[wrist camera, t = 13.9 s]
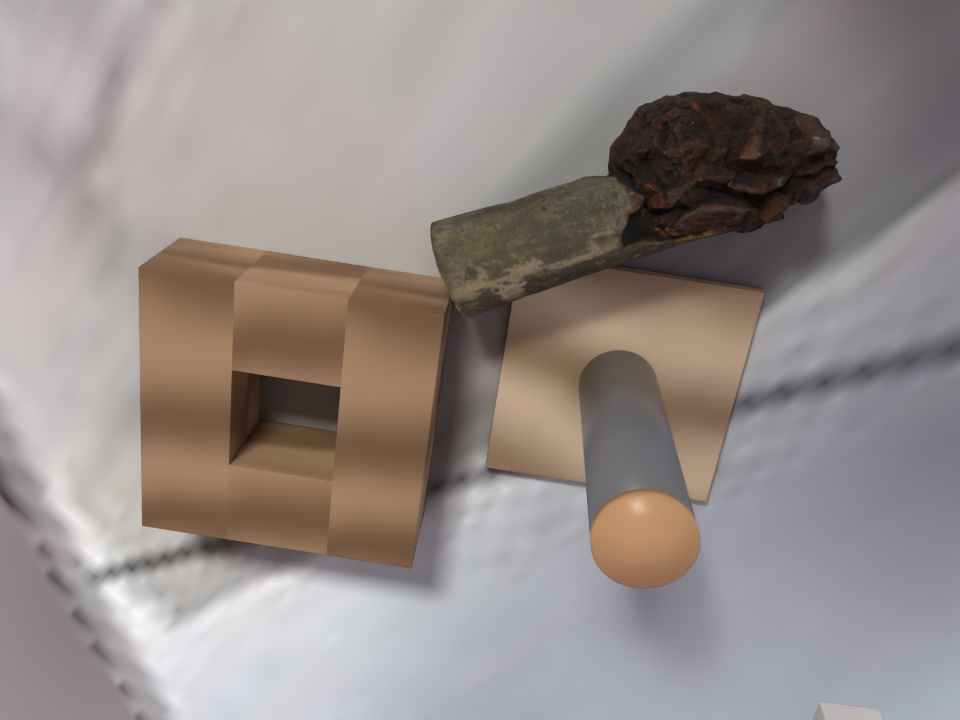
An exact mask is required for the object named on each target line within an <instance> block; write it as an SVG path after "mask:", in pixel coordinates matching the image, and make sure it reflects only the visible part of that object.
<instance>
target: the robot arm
mask: <svg viewBox="0 0 960 720" xmlns="http://www.w3.org/2000/svg"><path fill="white" fill-rule="evenodd" d="M813 720H883V718H882V716H881V714H880V711H879V710H876V709H868V708H861V707H854V706H847V705H839V704H832V703H825V702H819V703H818V706H817V709H816V712H815V715H814V718H813Z"/></svg>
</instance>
